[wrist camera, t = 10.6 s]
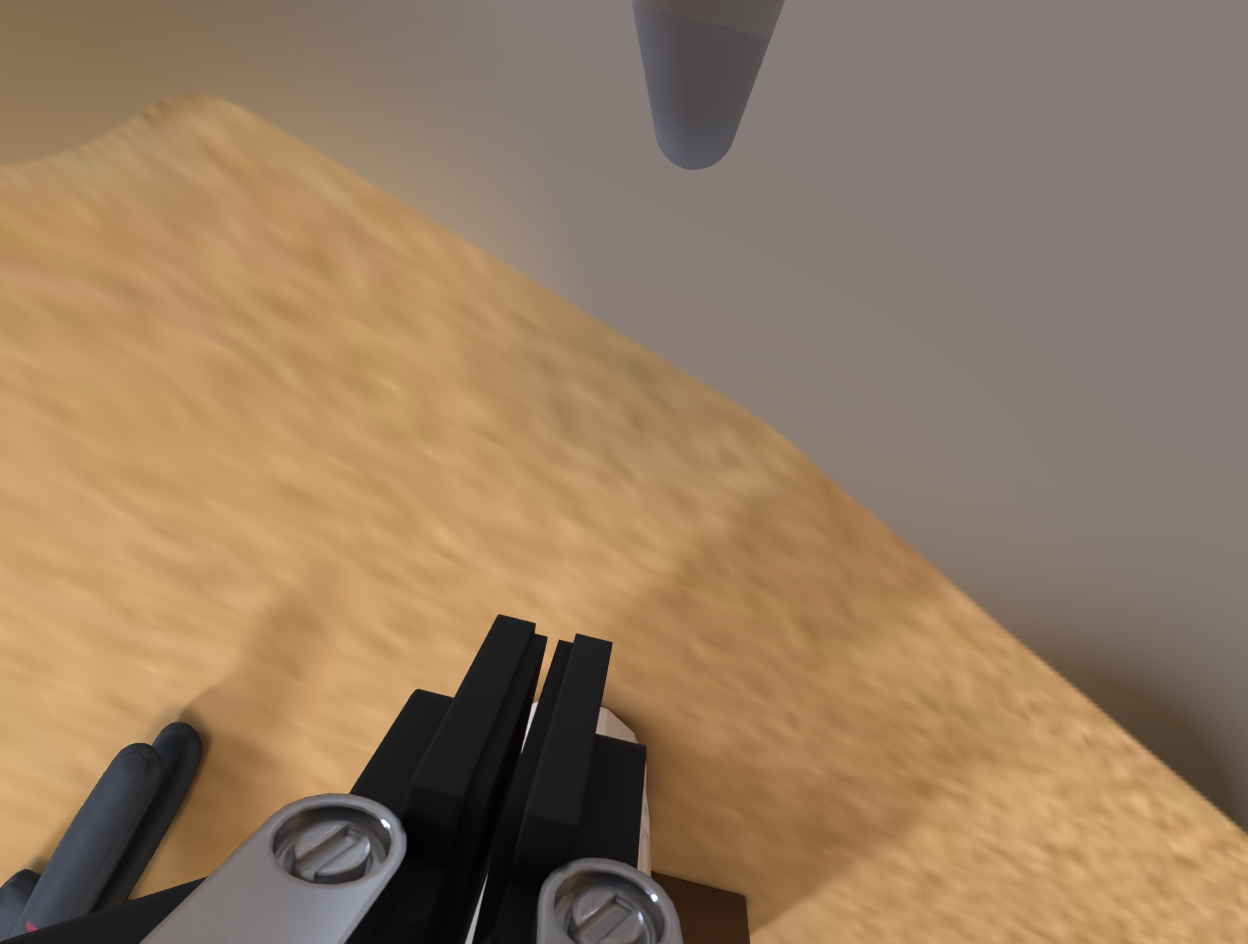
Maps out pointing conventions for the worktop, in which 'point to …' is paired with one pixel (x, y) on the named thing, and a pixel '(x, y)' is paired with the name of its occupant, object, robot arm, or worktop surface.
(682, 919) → the walnut rail
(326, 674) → the worktop surface
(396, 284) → the worktop surface
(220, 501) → the worktop surface
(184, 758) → the can opener
